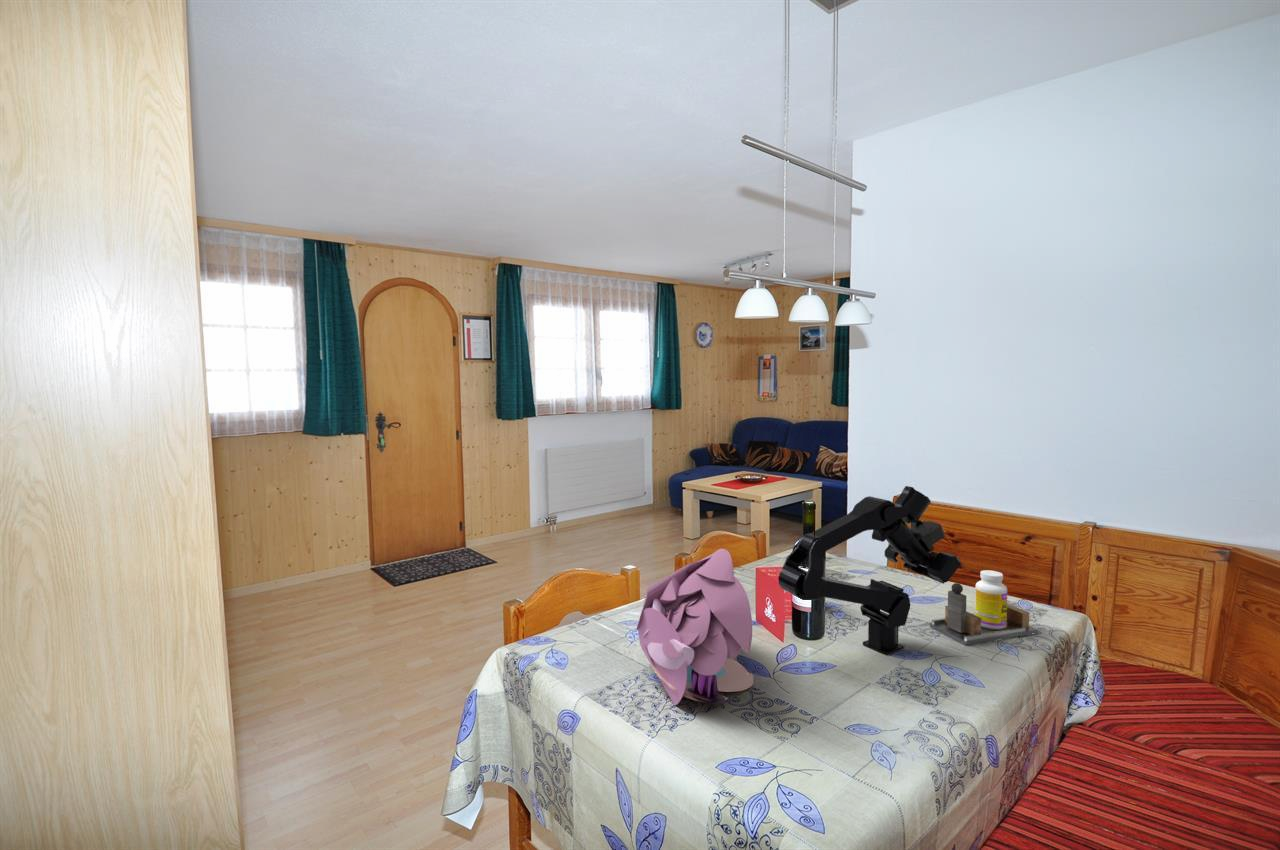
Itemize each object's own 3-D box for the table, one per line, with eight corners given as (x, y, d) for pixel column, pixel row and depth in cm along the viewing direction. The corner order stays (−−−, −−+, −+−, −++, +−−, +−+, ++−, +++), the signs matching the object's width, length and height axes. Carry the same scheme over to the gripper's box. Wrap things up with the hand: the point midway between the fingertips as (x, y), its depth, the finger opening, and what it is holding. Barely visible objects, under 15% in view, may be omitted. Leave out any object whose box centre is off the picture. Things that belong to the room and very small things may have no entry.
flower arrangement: (786, 730, 111) (820, 587, 108) (676, 737, 101) (711, 580, 99) (699, 640, 143) (724, 528, 140) (609, 639, 133) (634, 518, 131)
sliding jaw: (966, 637, 135) (967, 589, 135) (938, 622, 144) (939, 578, 143) (980, 634, 136) (981, 587, 136) (951, 620, 145) (952, 576, 144)
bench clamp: (965, 645, 134) (965, 624, 134) (929, 626, 144) (929, 607, 144) (1037, 633, 140) (1038, 613, 139) (997, 616, 150) (998, 597, 150)
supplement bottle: (1005, 633, 138) (1006, 579, 137) (972, 626, 142) (973, 574, 141) (1007, 623, 143) (1008, 571, 142) (976, 617, 147) (977, 567, 146)
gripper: (954, 520, 126) (994, 565, 130) (895, 504, 144) (931, 544, 148) (923, 559, 125) (965, 604, 128) (867, 538, 143) (905, 578, 146)
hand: (940, 580), depth 138 cm, fingers closed
